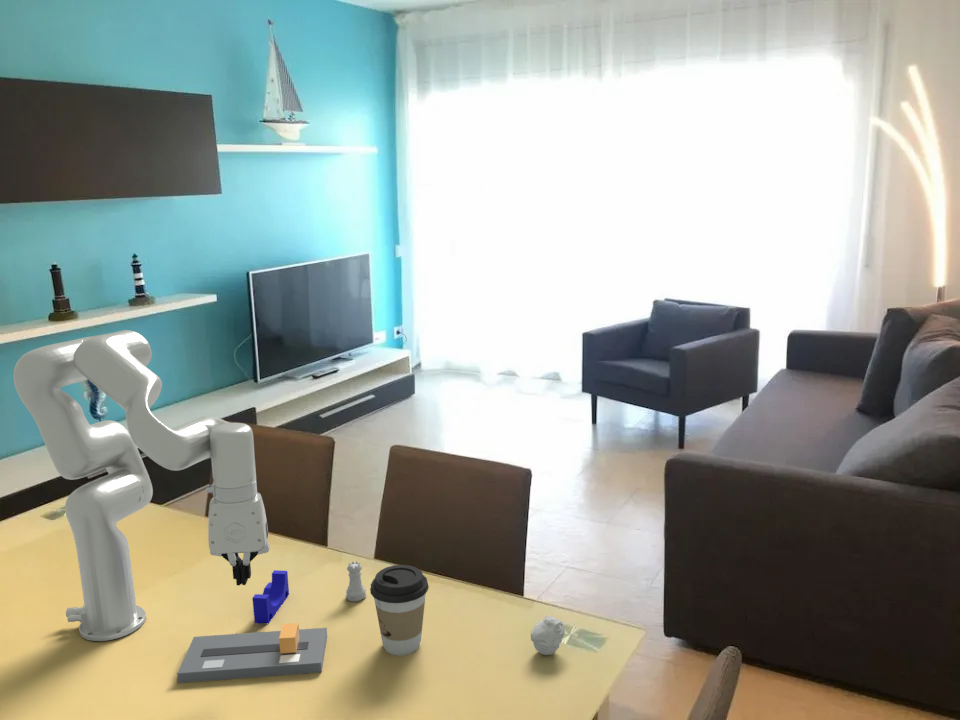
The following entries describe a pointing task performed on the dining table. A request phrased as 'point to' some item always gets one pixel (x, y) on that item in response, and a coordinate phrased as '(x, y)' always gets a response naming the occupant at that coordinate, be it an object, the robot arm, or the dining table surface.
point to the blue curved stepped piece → (271, 597)
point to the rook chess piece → (355, 583)
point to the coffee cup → (400, 607)
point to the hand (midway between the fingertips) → (242, 581)
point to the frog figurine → (548, 635)
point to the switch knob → (289, 638)
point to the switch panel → (251, 656)
